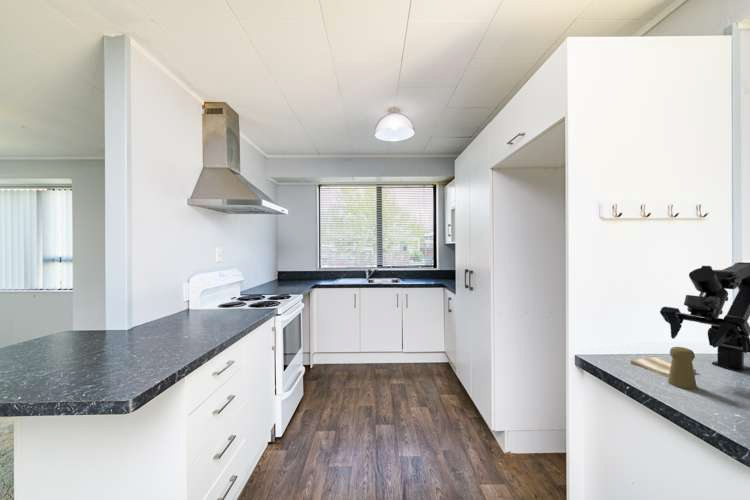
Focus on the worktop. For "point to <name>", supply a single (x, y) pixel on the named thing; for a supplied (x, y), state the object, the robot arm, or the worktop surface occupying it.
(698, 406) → the worktop surface
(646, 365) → the birch trivet
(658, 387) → the worktop surface
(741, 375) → the worktop surface
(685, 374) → the cork
